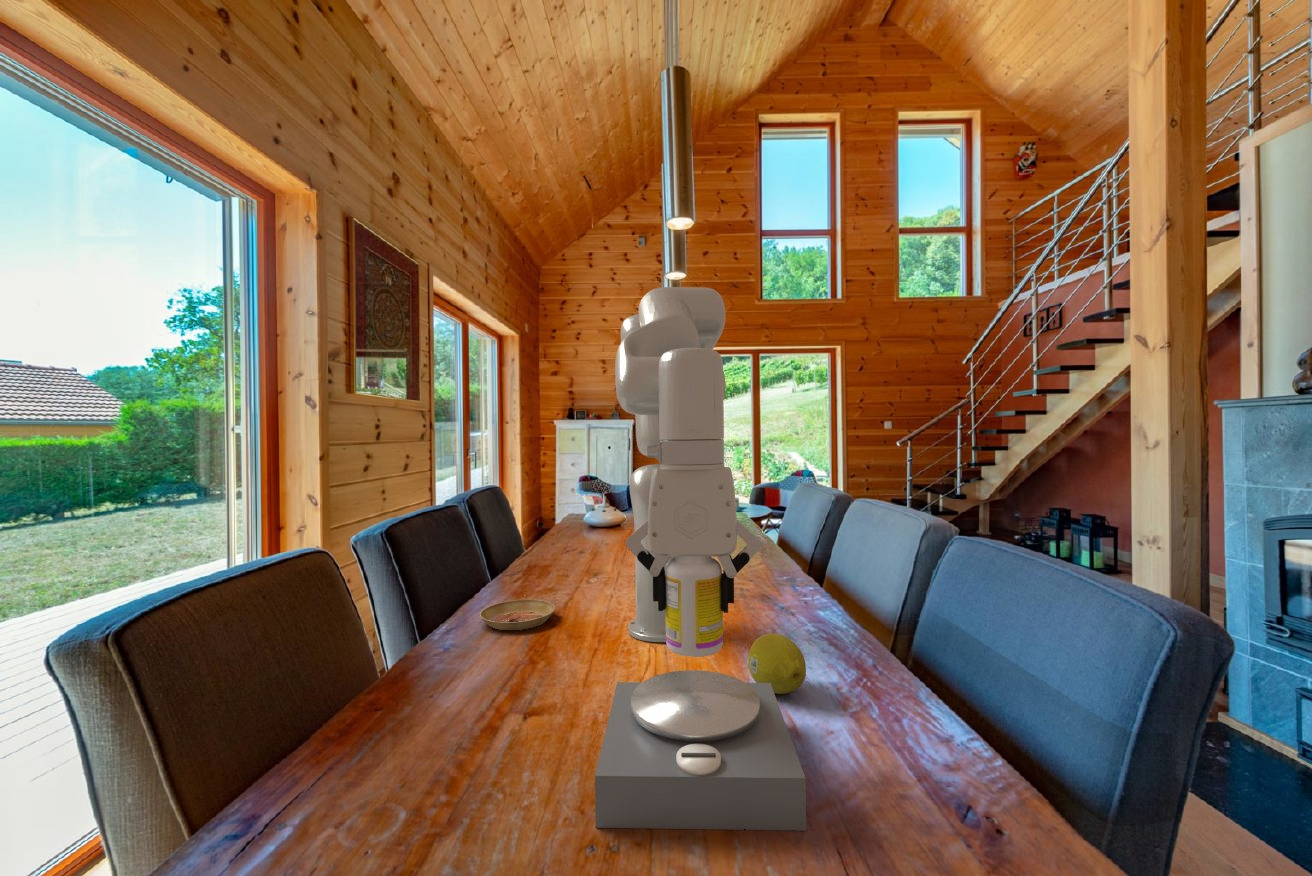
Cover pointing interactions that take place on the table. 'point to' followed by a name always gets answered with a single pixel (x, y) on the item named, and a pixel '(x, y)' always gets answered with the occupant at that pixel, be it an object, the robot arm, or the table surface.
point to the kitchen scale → (699, 775)
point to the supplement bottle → (693, 605)
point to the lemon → (777, 663)
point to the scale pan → (695, 705)
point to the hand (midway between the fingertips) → (693, 607)
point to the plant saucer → (518, 606)
